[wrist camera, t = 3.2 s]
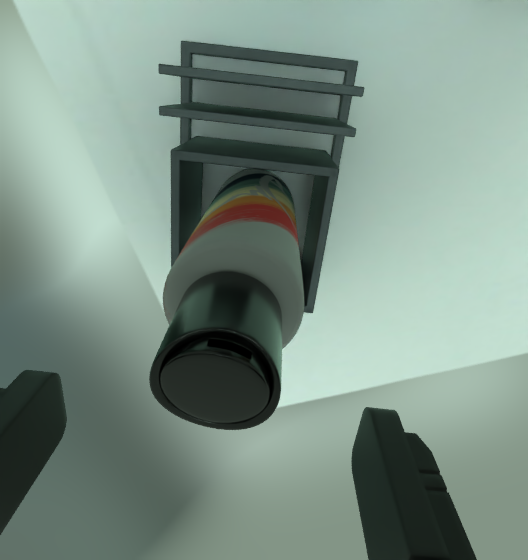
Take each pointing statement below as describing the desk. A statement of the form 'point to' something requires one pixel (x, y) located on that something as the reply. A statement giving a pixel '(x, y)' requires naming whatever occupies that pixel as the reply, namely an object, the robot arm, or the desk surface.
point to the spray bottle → (232, 307)
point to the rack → (258, 144)
